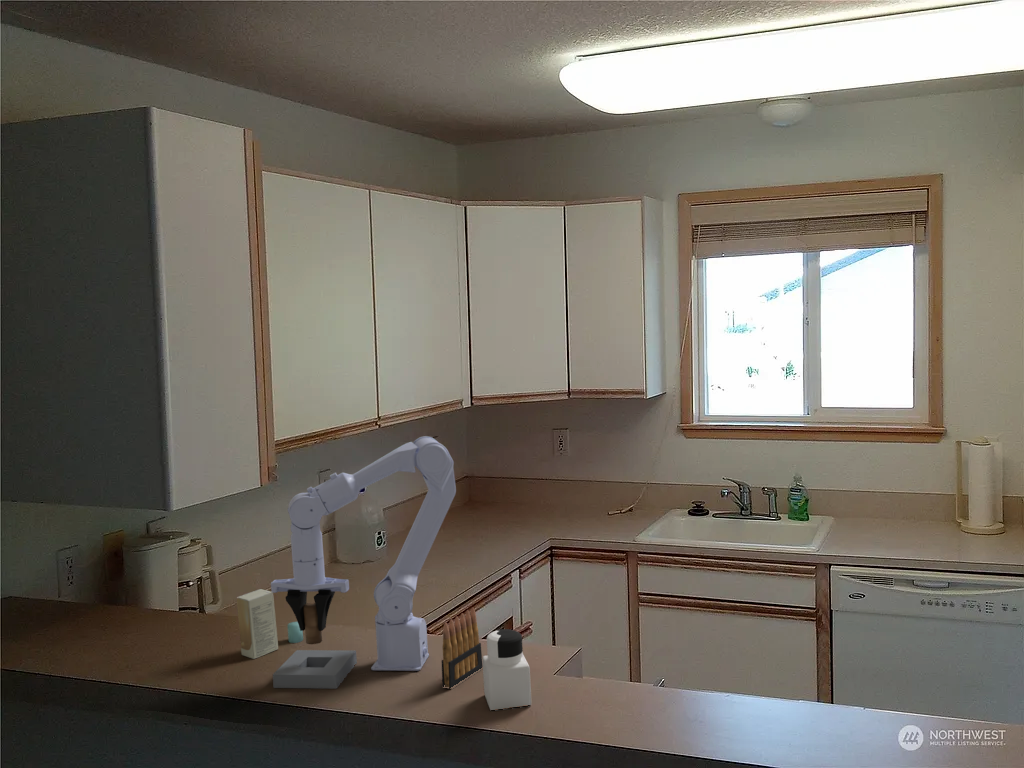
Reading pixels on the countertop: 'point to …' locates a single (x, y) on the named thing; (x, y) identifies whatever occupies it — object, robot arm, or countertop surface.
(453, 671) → the ammunition clip
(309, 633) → the long walnut pin
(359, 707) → the countertop surface
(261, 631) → the skincare box
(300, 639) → the short teal pin
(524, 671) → the medicine bottle
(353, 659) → the slate hole block
